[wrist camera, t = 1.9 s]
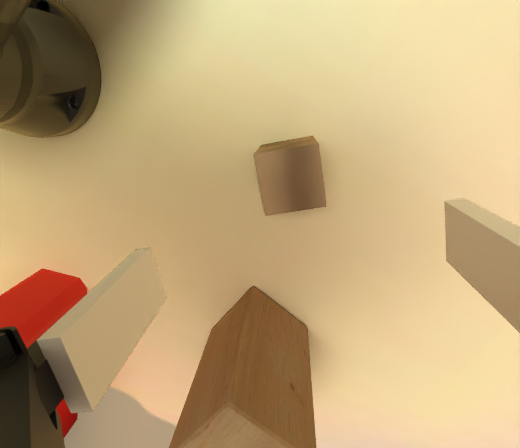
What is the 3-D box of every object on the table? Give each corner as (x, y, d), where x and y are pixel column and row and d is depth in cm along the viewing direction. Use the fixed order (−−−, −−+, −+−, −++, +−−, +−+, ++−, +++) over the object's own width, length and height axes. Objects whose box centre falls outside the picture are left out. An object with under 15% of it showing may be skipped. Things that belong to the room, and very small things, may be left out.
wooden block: (308, 326, 47) (320, 470, 29) (263, 368, 50) (247, 523, 32) (253, 283, 46) (227, 405, 27) (210, 329, 49) (159, 468, 30)
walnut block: (270, 193, 42) (265, 215, 33) (261, 145, 40) (253, 154, 32) (319, 186, 41) (326, 206, 33) (312, 135, 39) (318, 143, 31)
